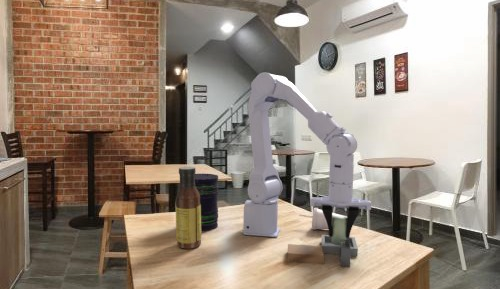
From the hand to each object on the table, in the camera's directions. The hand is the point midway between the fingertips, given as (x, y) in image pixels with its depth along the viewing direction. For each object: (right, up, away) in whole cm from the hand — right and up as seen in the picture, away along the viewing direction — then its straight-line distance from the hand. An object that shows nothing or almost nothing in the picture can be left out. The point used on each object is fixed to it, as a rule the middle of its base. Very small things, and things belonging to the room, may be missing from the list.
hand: (338, 235), depth 91 cm
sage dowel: (0, -2, 0) cm, 2 cm away
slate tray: (0, -3, 0) cm, 3 cm away
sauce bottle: (-38, -3, 0) cm, 38 cm away
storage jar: (-37, -2, +16) cm, 40 cm away
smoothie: (+6, 0, +13) cm, 14 cm away
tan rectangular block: (-9, -4, -6) cm, 12 cm away
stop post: (-1, -4, -8) cm, 9 cm away
